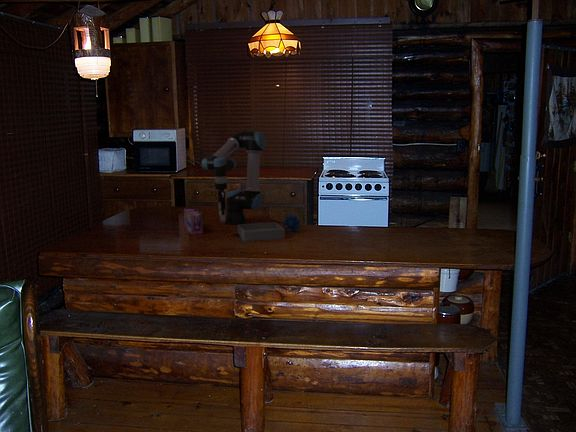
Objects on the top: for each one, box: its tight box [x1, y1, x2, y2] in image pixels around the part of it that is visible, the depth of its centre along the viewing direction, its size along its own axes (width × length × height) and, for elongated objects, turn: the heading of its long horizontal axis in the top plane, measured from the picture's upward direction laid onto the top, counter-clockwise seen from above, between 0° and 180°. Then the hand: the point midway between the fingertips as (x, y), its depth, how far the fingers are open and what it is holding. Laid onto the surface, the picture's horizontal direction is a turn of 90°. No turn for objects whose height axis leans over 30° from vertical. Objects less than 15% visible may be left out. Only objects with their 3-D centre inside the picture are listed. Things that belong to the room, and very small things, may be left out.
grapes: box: [283, 213, 302, 233], centre depth 379 cm, size 12×7×12 cm, turn 82°
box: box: [237, 221, 286, 242], centre depth 370 cm, size 22×26×6 cm
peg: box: [218, 202, 226, 223], centre depth 366 cm, size 4×4×12 cm
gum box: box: [183, 207, 204, 235], centre depth 385 cm, size 24×8×14 cm, turn 22°
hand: (222, 218), depth 367 cm, fingers closed on peg, 4 cm apart
